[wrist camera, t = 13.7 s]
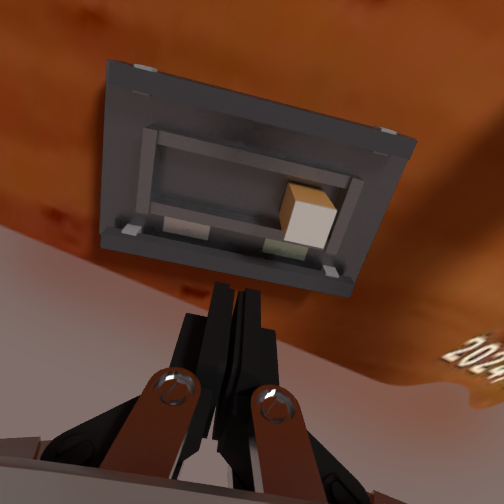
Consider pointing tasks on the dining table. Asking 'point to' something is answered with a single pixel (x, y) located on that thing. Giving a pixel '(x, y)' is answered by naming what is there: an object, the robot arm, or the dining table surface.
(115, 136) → the panel
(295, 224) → the block
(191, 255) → the pair of grey rails
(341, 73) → the dining table surface
